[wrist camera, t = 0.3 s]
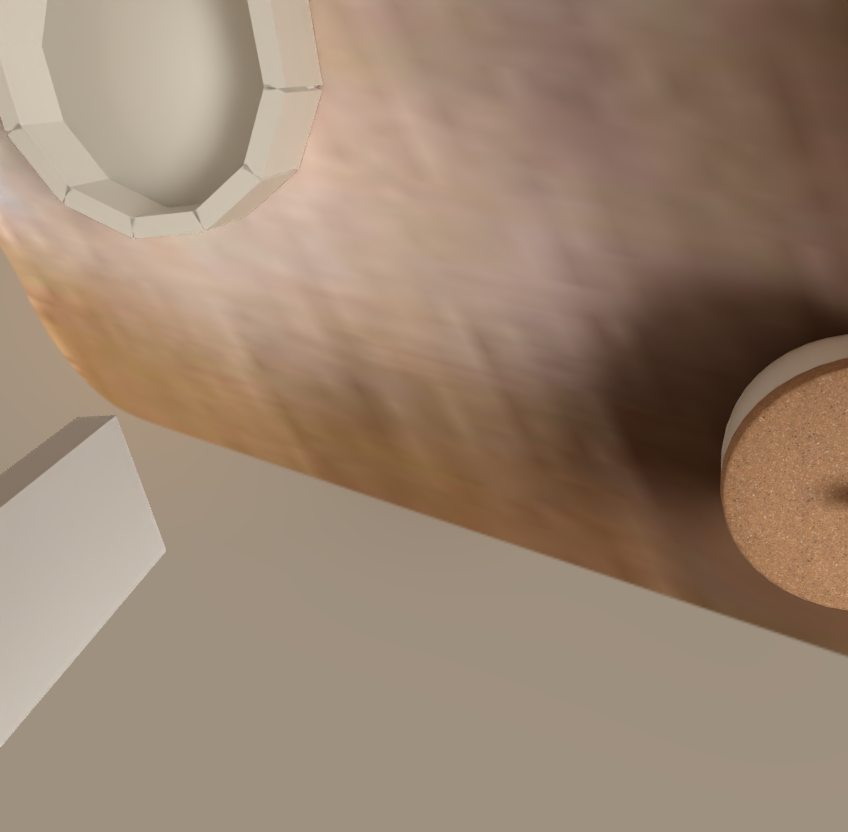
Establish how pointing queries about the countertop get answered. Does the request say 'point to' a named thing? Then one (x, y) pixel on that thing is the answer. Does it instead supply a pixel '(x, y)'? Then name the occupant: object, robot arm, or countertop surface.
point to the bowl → (159, 105)
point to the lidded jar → (793, 472)
